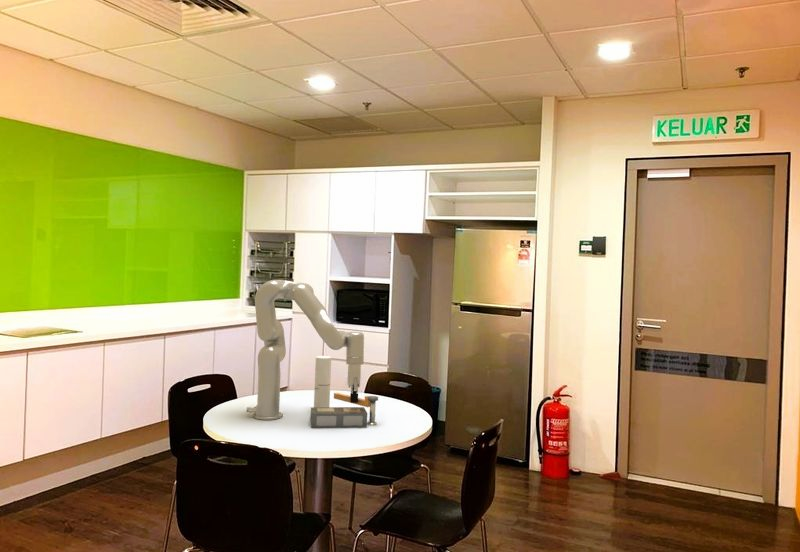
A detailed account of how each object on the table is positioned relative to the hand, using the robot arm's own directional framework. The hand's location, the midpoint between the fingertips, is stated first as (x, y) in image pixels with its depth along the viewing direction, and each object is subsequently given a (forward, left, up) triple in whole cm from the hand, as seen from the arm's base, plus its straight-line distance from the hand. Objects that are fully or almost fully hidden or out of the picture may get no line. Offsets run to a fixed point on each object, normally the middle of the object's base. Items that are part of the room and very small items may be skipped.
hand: (354, 402), depth 263 cm
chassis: (-7, -5, -8) cm, 12 cm away
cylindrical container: (-13, +19, -8) cm, 24 cm away
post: (+7, -5, -8) cm, 12 cm away
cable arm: (+1, +4, -1) cm, 4 cm away
